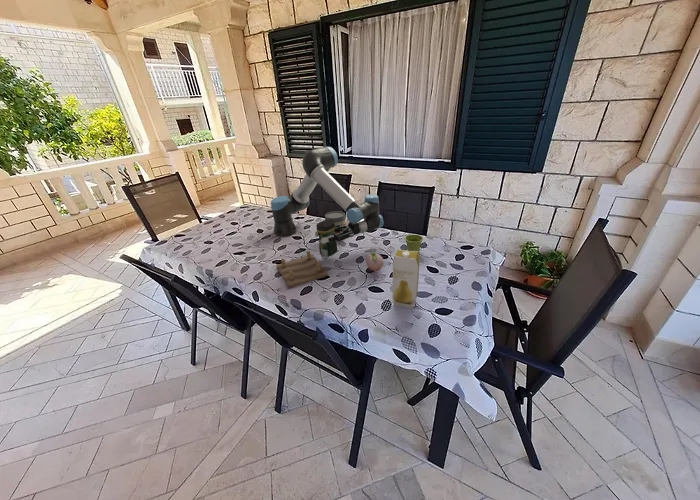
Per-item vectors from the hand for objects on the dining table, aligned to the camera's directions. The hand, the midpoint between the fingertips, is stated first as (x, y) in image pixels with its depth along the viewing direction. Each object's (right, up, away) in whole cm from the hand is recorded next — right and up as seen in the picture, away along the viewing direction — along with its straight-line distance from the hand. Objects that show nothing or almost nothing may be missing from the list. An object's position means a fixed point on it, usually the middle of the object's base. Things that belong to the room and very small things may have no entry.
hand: (318, 237), depth 138 cm
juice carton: (+38, -28, -28) cm, 55 cm away
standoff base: (-8, -17, -1) cm, 19 cm away
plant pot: (+50, -8, +9) cm, 52 cm away
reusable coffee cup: (+8, +2, +32) cm, 33 cm away
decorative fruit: (+28, -17, -5) cm, 33 cm away
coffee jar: (+5, -8, +7) cm, 12 cm away
